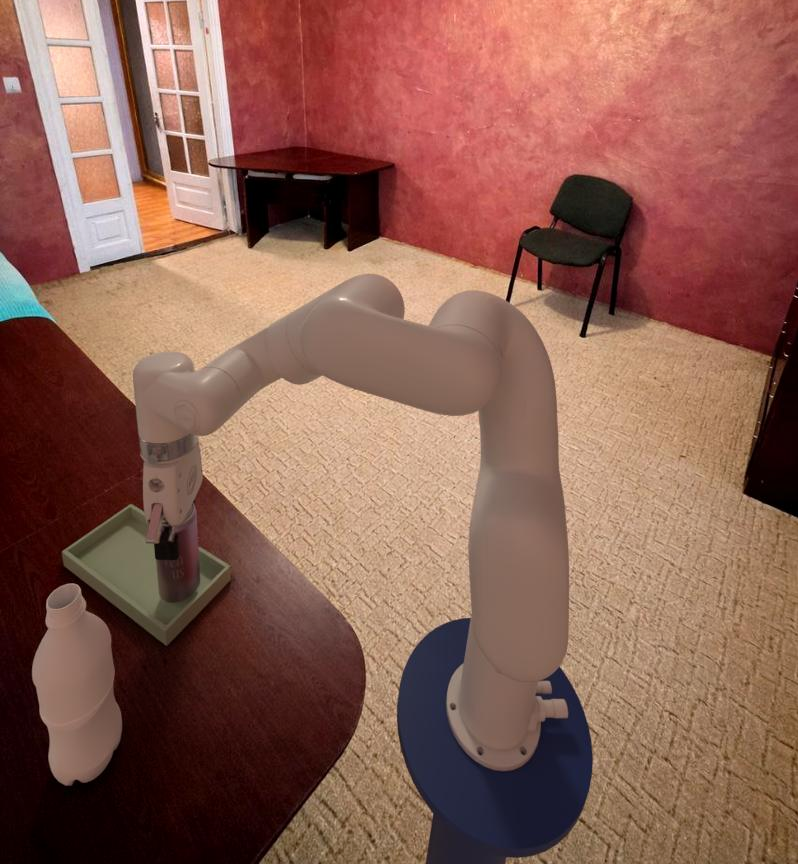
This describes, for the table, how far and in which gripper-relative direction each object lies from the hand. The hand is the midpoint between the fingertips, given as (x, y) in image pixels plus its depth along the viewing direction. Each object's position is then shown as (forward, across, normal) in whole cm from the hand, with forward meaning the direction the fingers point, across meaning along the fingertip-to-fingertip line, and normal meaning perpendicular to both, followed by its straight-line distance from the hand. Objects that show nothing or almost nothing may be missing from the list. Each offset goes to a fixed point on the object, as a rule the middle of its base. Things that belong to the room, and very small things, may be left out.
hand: (176, 537), depth 73 cm
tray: (+12, +4, +7) cm, 14 cm away
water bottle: (+12, -20, +3) cm, 24 cm away
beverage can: (+10, 0, 0) cm, 10 cm away
